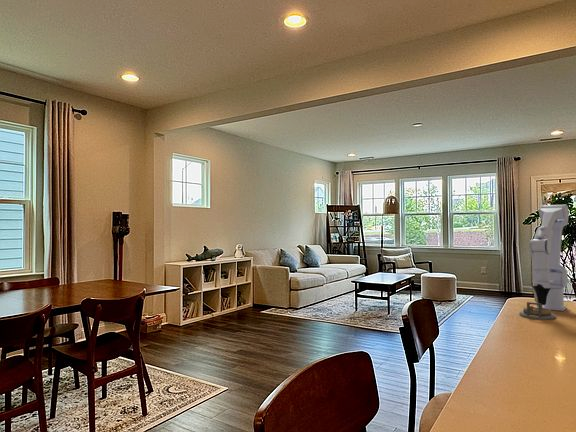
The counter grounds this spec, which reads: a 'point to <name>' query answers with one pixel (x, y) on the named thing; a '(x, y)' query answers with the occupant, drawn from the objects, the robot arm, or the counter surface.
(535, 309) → the capstan disc
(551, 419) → the counter surface
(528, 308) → the disc
